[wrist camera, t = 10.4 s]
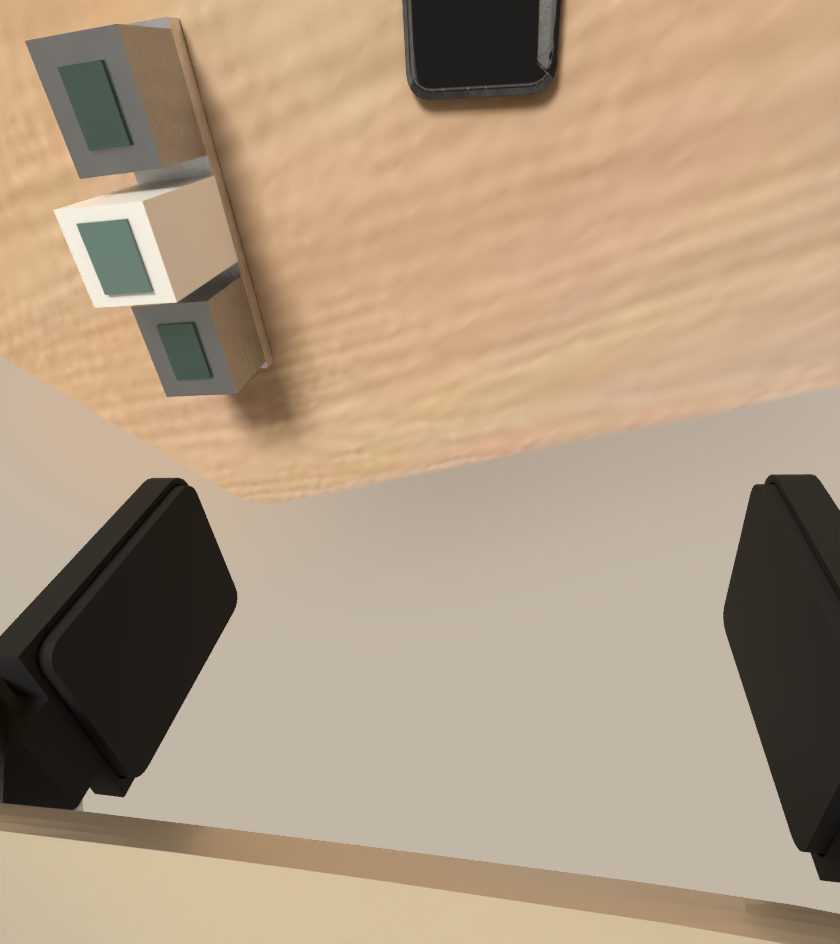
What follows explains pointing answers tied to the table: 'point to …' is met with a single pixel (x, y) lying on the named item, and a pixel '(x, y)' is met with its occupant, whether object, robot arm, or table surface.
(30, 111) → the table surface
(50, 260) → the table surface
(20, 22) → the table surface
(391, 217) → the table surface
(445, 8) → the phone
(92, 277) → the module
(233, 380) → the rail
